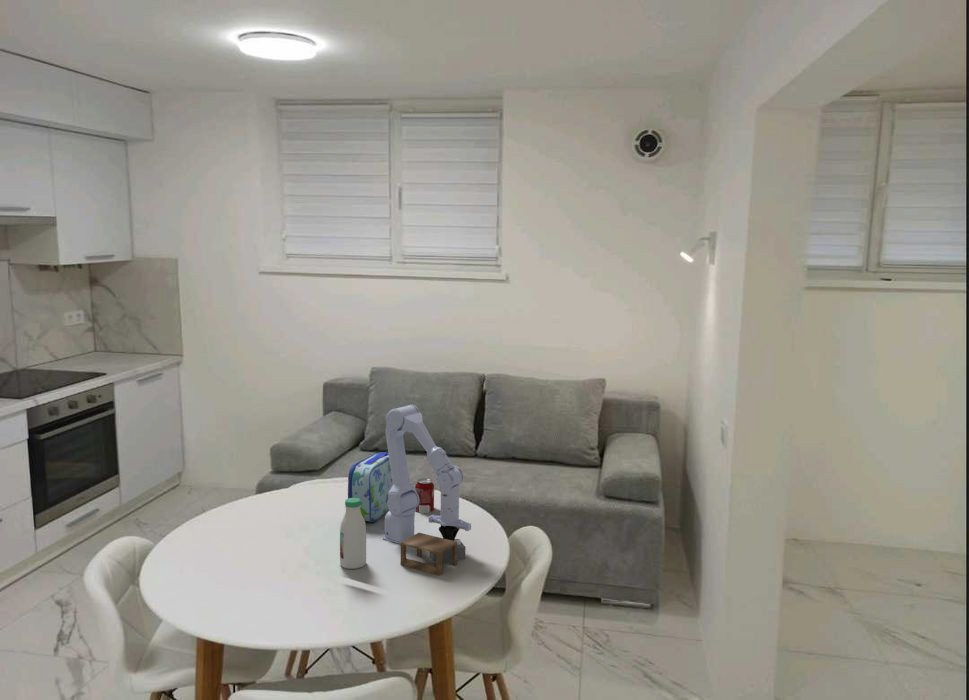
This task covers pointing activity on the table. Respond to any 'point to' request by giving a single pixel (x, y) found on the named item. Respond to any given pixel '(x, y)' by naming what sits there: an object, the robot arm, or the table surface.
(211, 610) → the table surface
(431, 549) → the wooden footstool
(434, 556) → the grey rectangular block
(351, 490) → the lunch box
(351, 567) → the milk bottle
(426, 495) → the soda can
